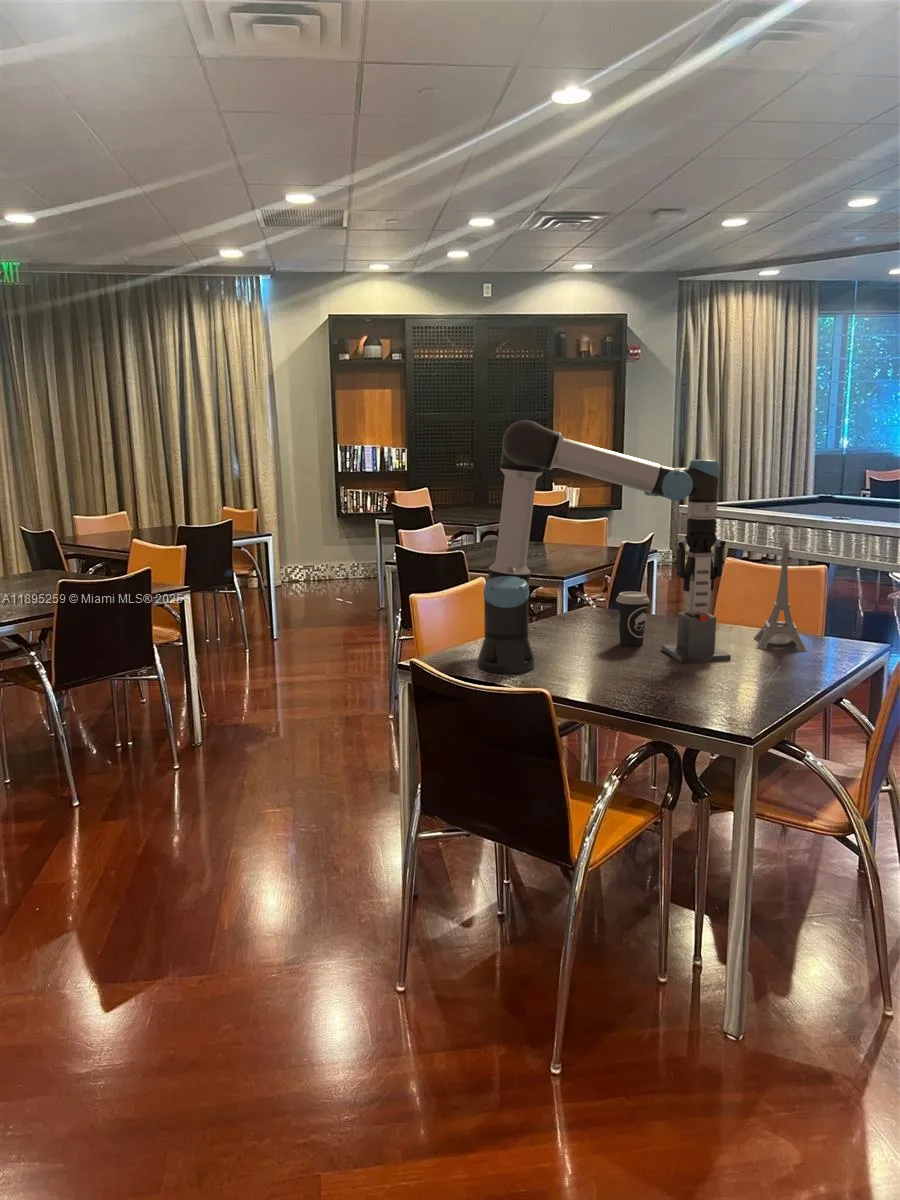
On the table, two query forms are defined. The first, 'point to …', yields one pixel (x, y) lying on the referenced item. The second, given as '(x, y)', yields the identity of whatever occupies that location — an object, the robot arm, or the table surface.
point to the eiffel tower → (781, 603)
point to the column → (700, 583)
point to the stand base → (696, 640)
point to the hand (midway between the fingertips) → (697, 602)
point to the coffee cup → (632, 617)
